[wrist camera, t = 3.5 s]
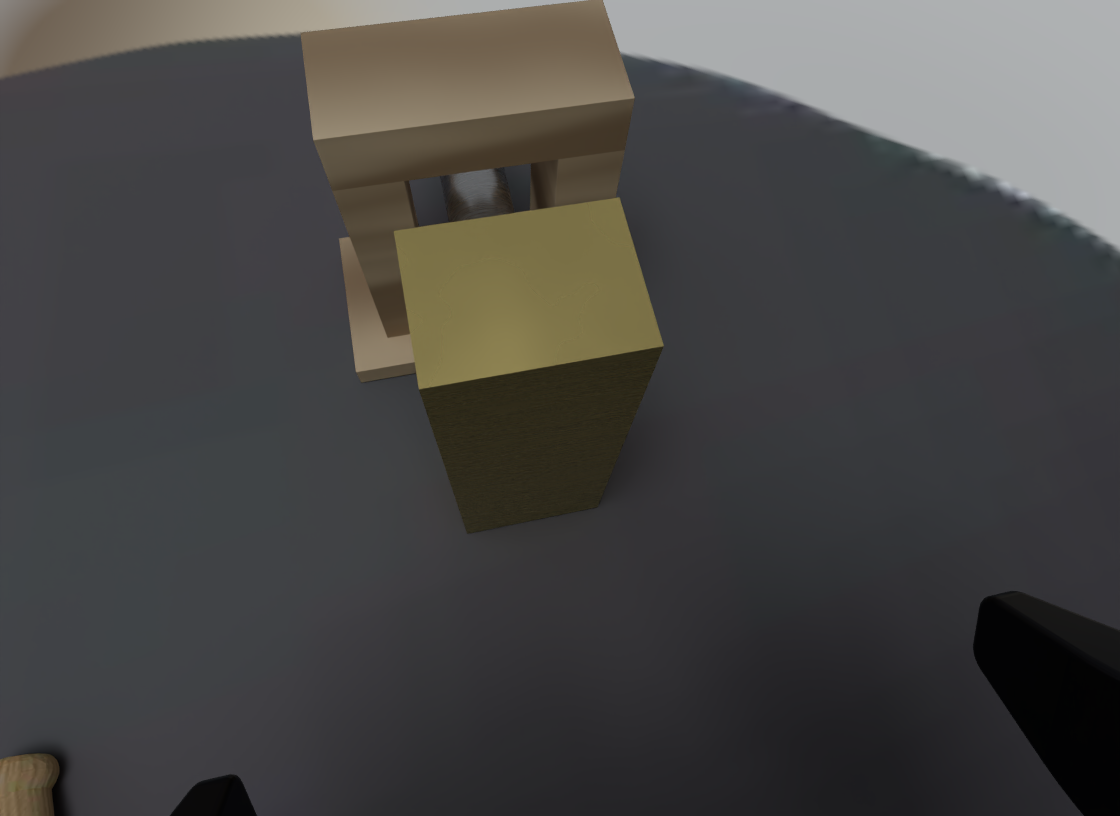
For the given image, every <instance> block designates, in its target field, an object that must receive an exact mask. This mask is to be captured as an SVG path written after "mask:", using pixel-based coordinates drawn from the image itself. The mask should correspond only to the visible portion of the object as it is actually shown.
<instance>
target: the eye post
mask: <svg viewBox="0 0 1120 816" xmlns="http://www.w3.org/2000/svg"><path fill="white" fill-rule="evenodd" d="M301 40H302V48H303V57H304V65H305V74H306V82H307V91H308V99H309V108H310V116H311V124H312V133H313V141H314V143H315V146H316V149H317V151H318V154H319V157H320V159H321V162H322V165H323V167H324V170H325V173H326V175H327V178H328V180H329V183H330V186H331V188H332V191H333V194H334V196H335V199H336V202H337V204H338V207H339V210H340V212H341V215H342V218H343V220H344V223H345V226H346V228H347V231H348V234H349V236H350V237H347V238H340V239H339V241H340V249H341V257H342V265H343V272H344V280H345V288H346V296H347V304H348V312H349V320H350V328H351V336H352V343H353V351H354V359H355V367H356V373H357V375H358V377H359V379H360V381H361V382H367V381H373V380H379V379H384V378H390V377H396V376H402V375H407V374H413V373H416V368H415V361H414V355H413V349H412V342H411V336H410V330H409V324H408V317H407V311H406V305H405V299H404V292H403V286H402V280H401V273H400V267H399V261H398V255H397V248H396V242H395V236H394V231H397V230H403V229H410V228H417V227H419V226H418V221H417V216H416V212H415V207H414V203H413V198H412V194H411V189H410V184H409V180H415V179H422V178H429V177H436V176H444V175H451V174H458V173H465V172H472V171H479V170H486V169H494V168H501V167H508V166H515V165H522V164H529V163H531V189H530V210H529V211H531V210H538V209H545V208H552V207H558V206H565V205H572V204H579V203H585V202H592V201H599V200H606V199H612V198H616V193H617V188H618V182H619V177H620V172H621V167H622V161H623V156H624V151H625V146H626V141H627V135H628V130H629V125H630V120H631V115H632V109H633V104H634V99H635V98H634V95H633V92H632V89H631V85H630V82H629V79H628V76H627V73H626V70H625V67H624V64H623V61H622V58H621V55H620V52H619V49H618V46H617V43H616V40H615V37H614V34H613V31H612V27H611V24H610V21H609V18H608V16H607V13H606V9H605V6H604V3H603V0H588V1H579V2H570V3H561V4H553V5H543V6H534V7H525V8H516V9H508V10H500V11H490V12H482V13H473V14H463V15H454V16H445V17H437V18H428V19H419V20H410V21H402V22H392V23H383V24H374V25H365V26H356V27H347V28H338V29H329V30H321V31H312V32H303V33H301ZM522 212H525V211H522ZM515 213H518V212H515ZM448 223H449V222H448ZM441 224H444V223H441ZM434 225H437V224H434ZM428 226H430V225H428ZM421 227H424V226H421Z"/></svg>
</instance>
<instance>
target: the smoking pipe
mask: <svg viewBox="0 0 1120 816" xmlns="http://www.w3.org/2000/svg"><path fill="white" fill-rule="evenodd" d="M58 775H59V765H58V762H57V760H56V759H55V758H54V757H53V756H52V755H50V754H40V753H37V754H25V755H19V756H12V757H6V758H3V759H0V816H54V807H53V798H52V788H53V786H54V784H55V783H56V781H57V778H58Z"/></svg>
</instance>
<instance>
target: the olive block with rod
mask: <svg viewBox="0 0 1120 816" xmlns="http://www.w3.org/2000/svg"><path fill="white" fill-rule="evenodd" d="M440 178H441V183H442V188H443V193H444V198H445V203H446V209H447V214H448V219H449V223H444V224H437V225H430V226H424V227H417V228H410V229H403V230H397V231H394V236H395V242H396V248H397V255H398V261H399V267H400V273H401V280H402V286H403V292H404V299H405V305H406V311H407V317H408V324H409V330H410V336H411V342H412V349H413V355H414V361H415V368H416V374H417V380H418V386H419V391H420V394H421V397H422V400H423V403H424V406H425V409H426V412H427V415H428V418H429V421H430V424H431V427H432V430H433V433H434V436H435V439H436V442H437V445H438V448H439V451H440V454H441V456H442V459H443V462H444V465H445V468H446V471H447V474H448V477H449V480H450V483H451V486H452V489H453V492H454V495H455V498H456V501H457V504H458V507H459V510H460V513H461V516H462V519H463V522H464V525H465V528H466V531H467V534H468V533H473V532H478V531H483V530H488V529H492V528H497V527H502V526H507V525H512V524H517V523H522V522H527V521H532V520H537V519H542V518H547V517H552V516H556V515H561V514H566V513H571V512H576V511H581V510H586V509H591V508H596V507H598V504H599V502H600V499H601V497H602V494H603V492H604V490H605V487H606V485H607V482H608V480H609V477H610V475H611V473H612V470H613V468H614V465H615V463H616V461H617V458H618V456H619V453H620V451H621V448H622V446H623V444H624V441H625V439H626V436H627V434H628V431H629V429H630V427H631V424H632V422H633V419H634V417H635V415H636V412H637V410H638V407H639V405H640V402H641V400H642V398H643V395H644V393H645V390H646V388H647V385H648V383H649V381H650V378H651V376H652V373H653V371H654V369H655V366H656V364H657V361H658V359H659V356H660V354H661V352H662V349H663V347H664V345H663V342H662V339H661V335H660V332H659V329H658V325H657V322H656V318H655V315H654V312H653V308H652V305H651V302H650V298H649V295H648V292H647V288H646V285H645V282H644V278H643V275H642V272H641V268H640V265H639V261H638V258H637V255H636V251H635V248H634V245H633V241H632V238H631V235H630V231H629V228H628V225H627V221H626V218H625V214H624V211H623V208H622V204H621V201H620V198H612V199H606V200H599V201H592V202H585V203H579V204H572V205H565V206H558V207H552V208H545V209H538V210H531V211H525V212H518V213H514V208H513V204H512V200H511V195H510V191H509V187H508V182H507V178H506V174H505V170H504V167H501V168H494V169H486V170H479V171H472V172H465V173H458V174H451V175H444V176H440Z"/></svg>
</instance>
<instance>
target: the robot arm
mask: <svg viewBox="0 0 1120 816" xmlns="http://www.w3.org/2000/svg"><path fill="white" fill-rule="evenodd" d="M973 651H974V656H975V659H976V661H977V664H978V666H979V667H980V669H981V671H982V672H983V674H984V675H985V677H986V678H987V680H988V681H989V683H990V684H991V686H992V687H993V688H994V690H995V691H996V693H997V694H998V696H999V697H1000V699H1001V700H1002V702H1003V703H1004V705H1005V706H1006V708H1007V709H1008V711H1009V712H1010V714H1011V715H1012V717H1013V718H1014V720H1015V721H1016V723H1017V724H1018V726H1019V727H1020V729H1021V730H1022V732H1023V733H1024V735H1025V736H1026V738H1027V739H1028V741H1029V742H1030V744H1031V745H1032V746H1033V748H1034V749H1035V751H1036V752H1037V754H1038V755H1039V757H1040V758H1041V760H1042V761H1043V763H1044V764H1045V766H1046V767H1047V768H1048V770H1049V771H1050V773H1051V774H1052V775H1053V777H1054V778H1055V780H1056V781H1057V782H1058V784H1059V785H1060V786H1061V788H1062V789H1063V790H1064V791H1065V793H1066V794H1067V795H1068V797H1069V798H1070V799H1071V800H1072V802H1073V803H1074V804H1075V805H1076V807H1077V808H1078V809H1079V810H1080V812H1081V813H1082V814H1083V815H1084V816H1120V630H1117V629H1115V628H1112V627H1110V626H1107V625H1104V624H1102V623H1099V622H1097V621H1094V620H1092V619H1089V618H1086V617H1084V616H1081V615H1079V614H1076V613H1074V612H1071V611H1068V610H1066V609H1063V608H1061V607H1058V606H1056V605H1053V604H1050V603H1048V602H1045V601H1043V600H1040V599H1038V598H1035V597H1032V596H1030V595H1027V594H1025V593H1022V592H1018V591H1009V592H1005V593H1001V594H996V595H992V596H988V597H986V598H984V600H983V601H982V602H981V604H980V607H979V613H978V619H977V625H976V631H975V637H974V643H973ZM170 816H257V815H256V813H255V810H254V808H253V806H252V803H251V801H250V799H249V796H248V794H247V792H246V789H245V787H244V785H243V783H242V781H241V779H240V778H239V777H238V776H237V775H231V774H229V775H225V776H221V777H217V778H212V779H208V780H204V781H201V782H199V783H197V784H196V785H195V786H194V787H192V789H191V790H190V791H189V792H188V793H187V795H186V796H185V797H184V798H183V800H182V801H181V802H180V803H179V805H178V806H177V807H176V808H175V810H174V811H173V812H172V814H171V815H170Z"/></svg>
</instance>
